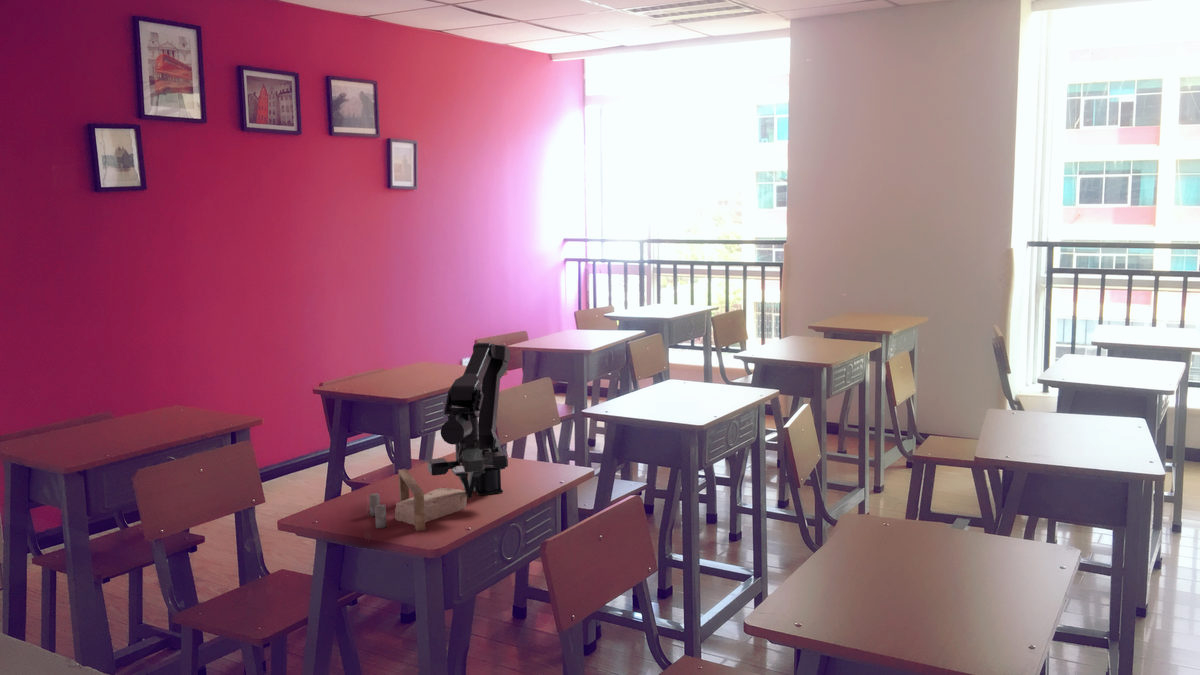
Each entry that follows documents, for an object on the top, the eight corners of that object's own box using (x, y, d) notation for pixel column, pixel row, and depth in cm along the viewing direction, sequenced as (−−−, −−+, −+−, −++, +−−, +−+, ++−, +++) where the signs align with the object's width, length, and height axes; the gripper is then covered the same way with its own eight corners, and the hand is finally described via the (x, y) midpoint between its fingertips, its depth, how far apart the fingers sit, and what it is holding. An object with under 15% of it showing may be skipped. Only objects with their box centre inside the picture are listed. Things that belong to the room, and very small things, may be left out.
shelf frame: (408, 503, 234) (406, 468, 233) (425, 529, 213) (423, 492, 212) (366, 508, 230) (364, 473, 229) (379, 536, 209) (378, 497, 208)
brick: (417, 526, 216) (416, 507, 216) (393, 520, 221) (392, 501, 221) (468, 509, 229) (467, 491, 229) (444, 504, 234) (444, 485, 234)
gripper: (435, 446, 215) (437, 511, 217) (513, 437, 222) (515, 501, 224) (425, 436, 226) (428, 499, 227) (500, 428, 232) (503, 489, 234)
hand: (469, 497), depth 228 cm, fingers closed
